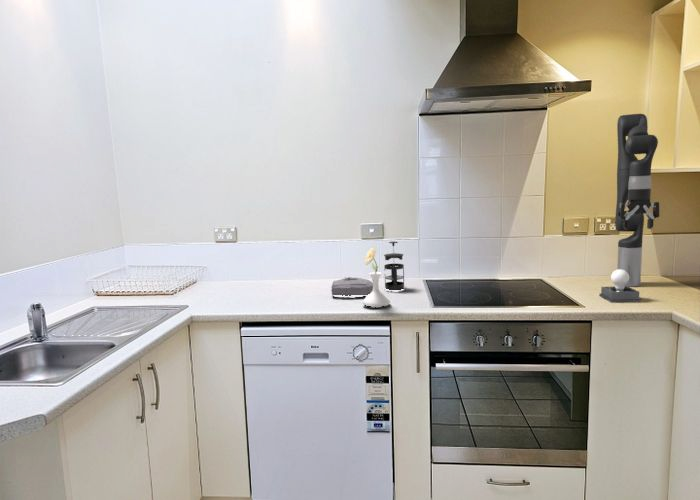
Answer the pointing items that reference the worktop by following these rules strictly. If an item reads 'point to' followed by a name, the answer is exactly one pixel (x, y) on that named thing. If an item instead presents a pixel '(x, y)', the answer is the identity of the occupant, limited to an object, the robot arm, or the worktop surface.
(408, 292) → the worktop surface
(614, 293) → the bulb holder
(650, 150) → the robot arm
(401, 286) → the french press
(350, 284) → the soft grey pack
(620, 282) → the lightbulb
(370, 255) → the flower in vase
